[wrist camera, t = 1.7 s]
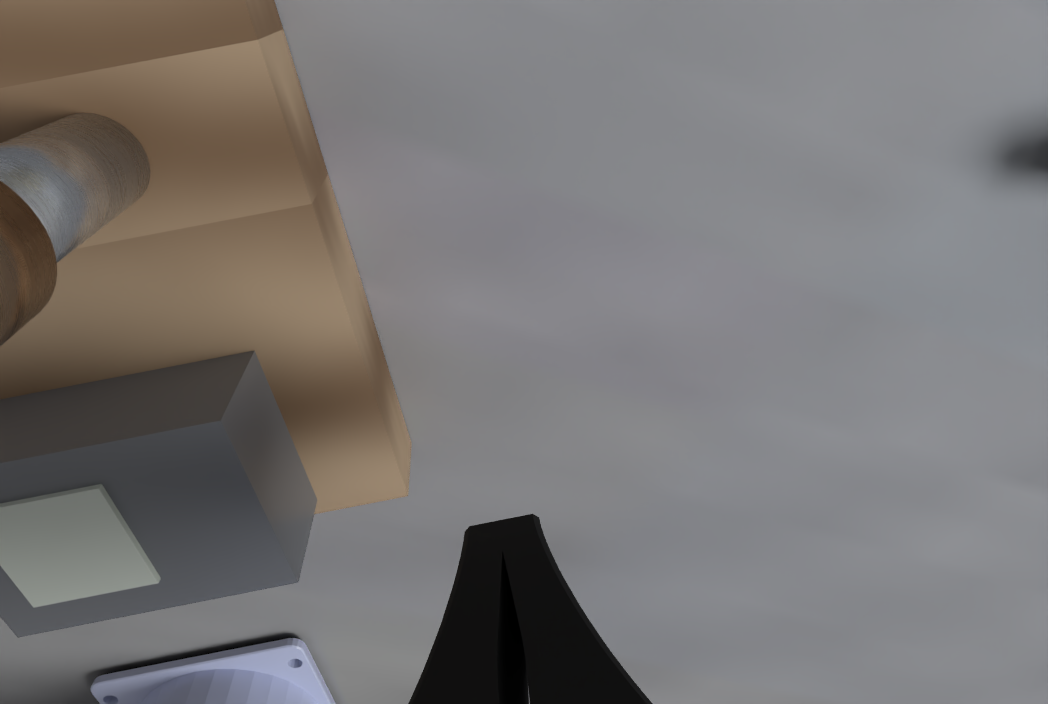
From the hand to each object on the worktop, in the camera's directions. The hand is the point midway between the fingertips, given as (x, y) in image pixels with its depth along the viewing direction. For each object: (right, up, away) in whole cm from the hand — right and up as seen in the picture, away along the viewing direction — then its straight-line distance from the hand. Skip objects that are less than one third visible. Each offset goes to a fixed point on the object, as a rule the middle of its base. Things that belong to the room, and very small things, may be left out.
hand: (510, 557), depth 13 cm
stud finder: (-9, +1, +5) cm, 11 cm away
